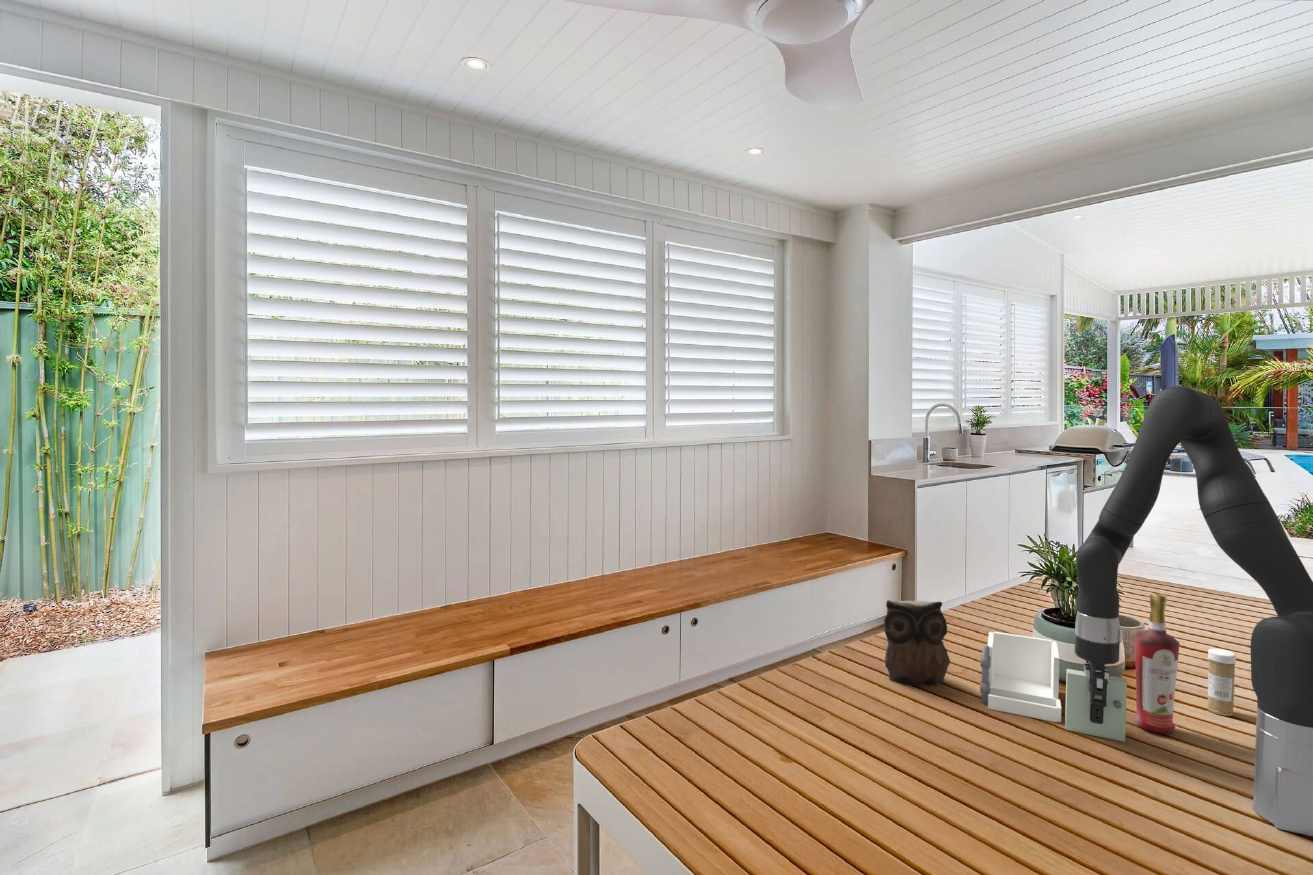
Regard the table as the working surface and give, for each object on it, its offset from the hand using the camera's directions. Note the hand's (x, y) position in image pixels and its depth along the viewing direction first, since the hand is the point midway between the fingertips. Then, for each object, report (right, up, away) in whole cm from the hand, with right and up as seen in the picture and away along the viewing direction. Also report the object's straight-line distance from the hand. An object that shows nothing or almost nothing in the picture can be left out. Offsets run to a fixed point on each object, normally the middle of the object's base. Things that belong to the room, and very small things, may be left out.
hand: (1094, 715), depth 132 cm
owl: (-26, -2, +28) cm, 38 cm away
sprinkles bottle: (+33, -3, +9) cm, 35 cm away
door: (0, -4, 0) cm, 4 cm away
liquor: (+13, -4, +2) cm, 14 cm away
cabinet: (-7, -3, +16) cm, 17 cm away
